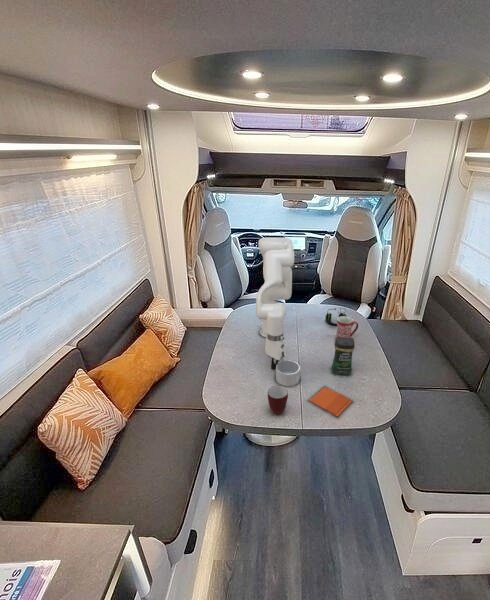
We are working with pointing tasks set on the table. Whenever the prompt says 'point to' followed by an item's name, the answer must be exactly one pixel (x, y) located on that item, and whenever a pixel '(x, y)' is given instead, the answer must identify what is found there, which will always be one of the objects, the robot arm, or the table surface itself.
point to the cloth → (331, 401)
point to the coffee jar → (343, 355)
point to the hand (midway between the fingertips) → (274, 368)
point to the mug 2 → (345, 326)
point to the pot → (287, 373)
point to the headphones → (328, 318)
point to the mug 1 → (277, 398)
